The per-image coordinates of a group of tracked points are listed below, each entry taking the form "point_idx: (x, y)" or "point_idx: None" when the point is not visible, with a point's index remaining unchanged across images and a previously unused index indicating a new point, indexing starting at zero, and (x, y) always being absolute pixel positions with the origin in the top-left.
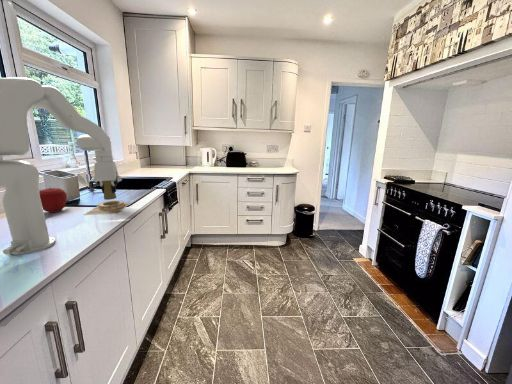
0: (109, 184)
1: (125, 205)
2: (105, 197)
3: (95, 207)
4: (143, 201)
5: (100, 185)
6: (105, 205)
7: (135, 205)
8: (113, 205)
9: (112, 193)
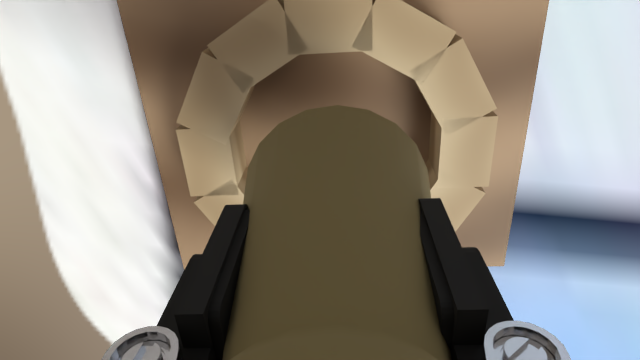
0: (235, 358)
1: (182, 164)
2: (376, 131)
3: (526, 114)
4: (118, 326)
5: (548, 351)
6: (360, 38)
7: (116, 208)
8: (236, 27)
9: (251, 201)
